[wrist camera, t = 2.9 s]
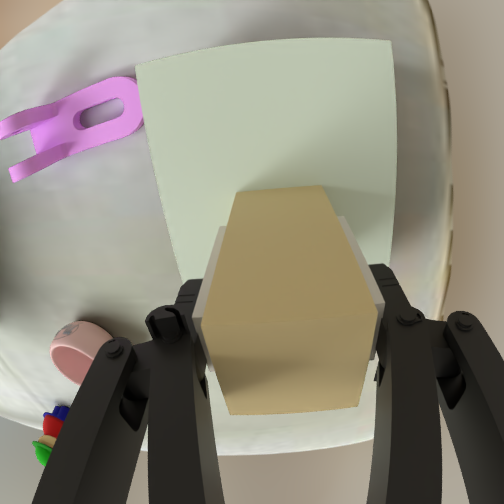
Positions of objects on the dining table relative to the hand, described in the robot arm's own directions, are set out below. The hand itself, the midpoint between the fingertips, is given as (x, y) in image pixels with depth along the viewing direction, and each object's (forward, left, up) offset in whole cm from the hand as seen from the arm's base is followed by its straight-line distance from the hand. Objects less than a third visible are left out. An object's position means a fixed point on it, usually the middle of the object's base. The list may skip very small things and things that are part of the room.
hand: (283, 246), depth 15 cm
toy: (-48, -44, -13) cm, 67 cm away
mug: (-25, -19, -13) cm, 34 cm away
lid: (0, 0, -5) cm, 5 cm away
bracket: (-16, +8, -13) cm, 23 cm away
